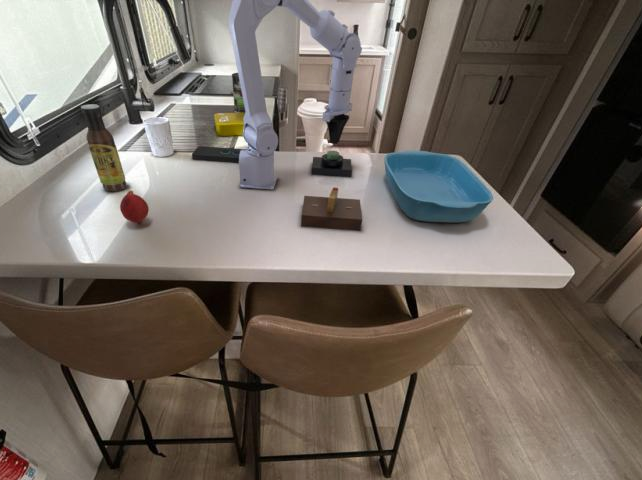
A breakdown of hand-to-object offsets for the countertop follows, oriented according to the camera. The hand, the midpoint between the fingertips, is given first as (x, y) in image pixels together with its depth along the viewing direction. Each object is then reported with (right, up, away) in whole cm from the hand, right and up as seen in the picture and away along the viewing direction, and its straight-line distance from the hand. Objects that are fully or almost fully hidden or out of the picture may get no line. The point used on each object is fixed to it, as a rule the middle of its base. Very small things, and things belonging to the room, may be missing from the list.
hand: (334, 142), depth 98 cm
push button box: (0, -6, +6) cm, 8 cm away
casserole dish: (+24, -19, -7) cm, 31 cm away
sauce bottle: (-61, -16, -7) cm, 64 cm away
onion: (-49, -29, -20) cm, 60 cm away
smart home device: (-34, 0, +11) cm, 36 cm away
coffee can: (-33, +39, +52) cm, 73 cm away
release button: (0, -3, +3) cm, 5 cm away
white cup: (-55, +2, +13) cm, 57 cm away
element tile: (-35, +20, +33) cm, 52 cm away
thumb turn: (-3, -24, -18) cm, 30 cm away
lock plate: (-3, -26, -16) cm, 31 cm away
